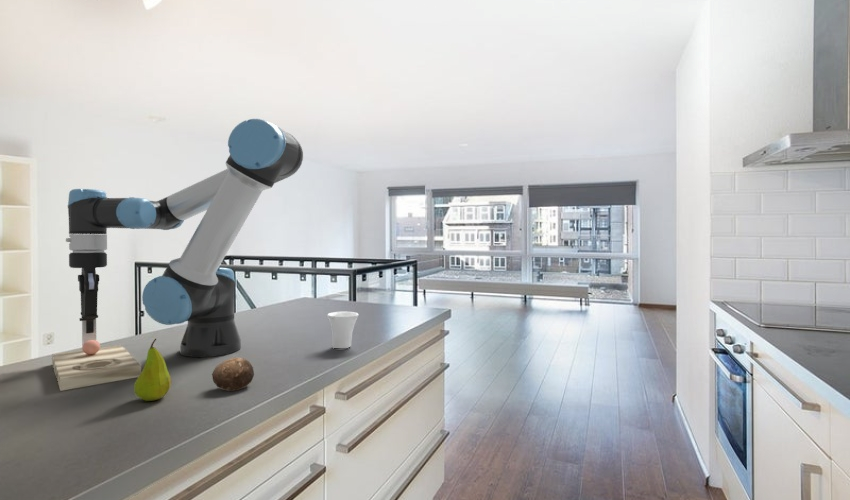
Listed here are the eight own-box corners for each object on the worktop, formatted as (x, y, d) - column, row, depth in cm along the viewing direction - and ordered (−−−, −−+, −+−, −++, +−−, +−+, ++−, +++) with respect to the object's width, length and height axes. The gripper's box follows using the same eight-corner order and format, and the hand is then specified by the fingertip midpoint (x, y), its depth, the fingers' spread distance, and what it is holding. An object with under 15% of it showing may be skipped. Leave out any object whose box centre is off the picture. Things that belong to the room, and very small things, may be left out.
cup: (320, 349, 124) (320, 314, 124) (338, 342, 133) (338, 309, 132) (346, 353, 121) (347, 317, 120) (363, 345, 129) (364, 311, 129)
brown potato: (223, 364, 97) (227, 346, 94) (257, 377, 98) (262, 359, 95) (202, 392, 91) (206, 373, 87) (239, 406, 91) (244, 387, 88)
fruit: (146, 393, 88) (146, 334, 88) (178, 393, 88) (177, 334, 88) (126, 405, 82) (126, 342, 81) (160, 405, 82) (160, 342, 82)
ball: (103, 352, 108) (103, 338, 108) (92, 356, 105) (92, 342, 104) (90, 352, 108) (90, 338, 108) (78, 356, 105) (78, 341, 105)
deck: (52, 364, 106) (52, 354, 106) (121, 354, 116) (121, 345, 116) (60, 390, 89) (60, 378, 89) (141, 376, 98) (141, 365, 98)
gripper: (66, 251, 111) (67, 342, 112) (71, 252, 102) (72, 353, 103) (103, 250, 116) (104, 338, 117) (110, 252, 107) (111, 347, 108)
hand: (89, 345), depth 110 cm, fingers closed
